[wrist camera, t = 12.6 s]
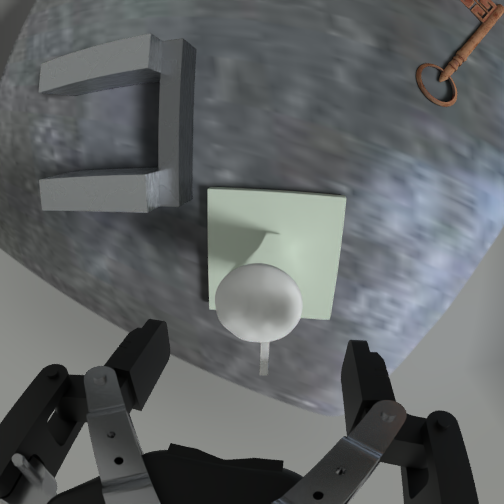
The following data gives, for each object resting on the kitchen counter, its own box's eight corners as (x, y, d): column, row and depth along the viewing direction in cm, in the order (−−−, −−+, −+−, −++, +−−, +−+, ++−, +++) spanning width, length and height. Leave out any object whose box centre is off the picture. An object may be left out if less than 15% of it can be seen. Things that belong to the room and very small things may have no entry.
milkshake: (248, 292, 25) (221, 376, 16) (235, 227, 23) (195, 286, 14) (305, 286, 24) (307, 372, 15) (297, 219, 23) (297, 277, 13)
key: (469, -20, 14) (387, 63, 19) (472, -24, 13) (390, 59, 18) (514, 24, 14) (442, 116, 19) (518, 22, 13) (446, 114, 18)
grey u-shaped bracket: (77, 70, 21) (41, 63, 17) (196, 49, 20) (172, 29, 15) (77, 197, 25) (41, 210, 21) (192, 199, 24) (168, 213, 19)
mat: (211, 186, 24) (207, 188, 23) (344, 195, 22) (346, 197, 21) (212, 303, 27) (209, 309, 26) (328, 313, 26) (329, 319, 25)
